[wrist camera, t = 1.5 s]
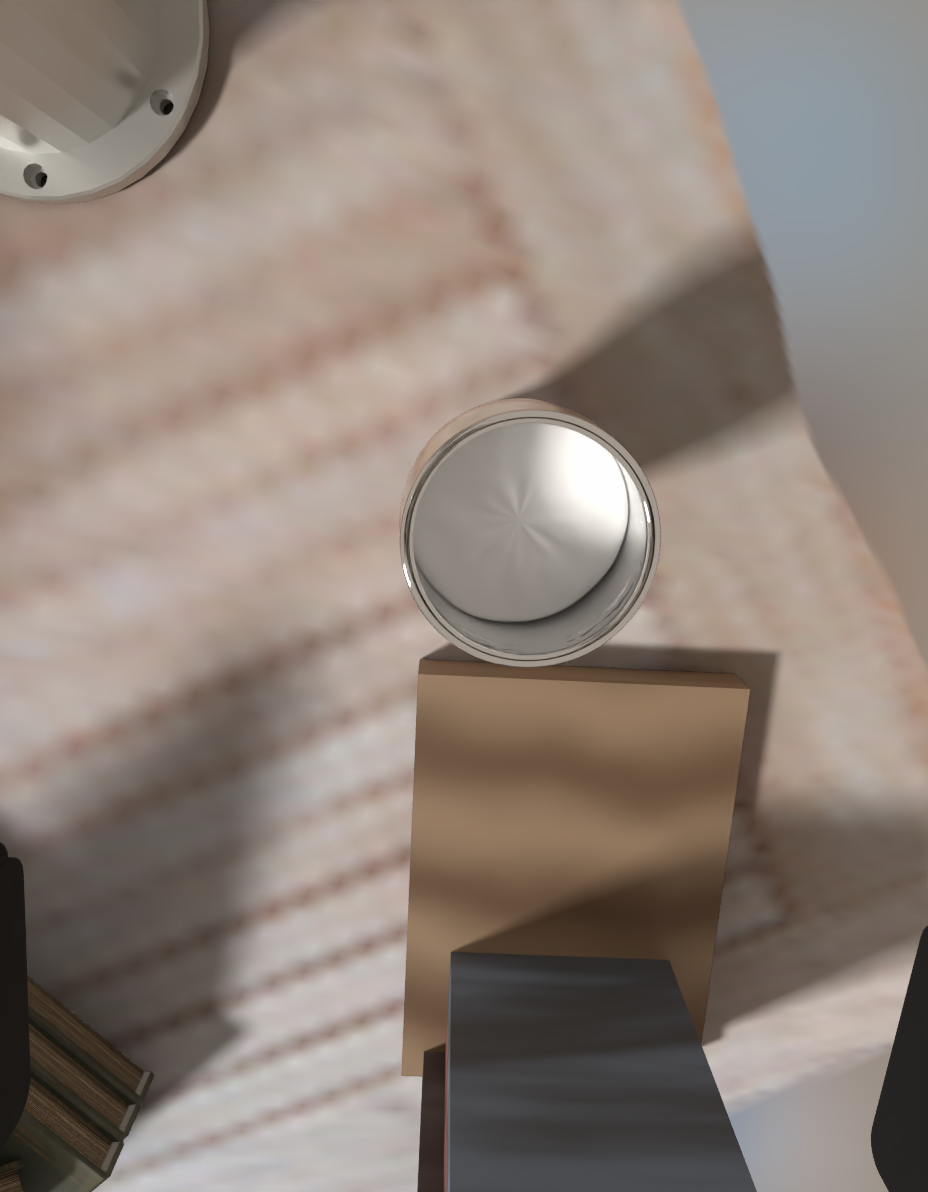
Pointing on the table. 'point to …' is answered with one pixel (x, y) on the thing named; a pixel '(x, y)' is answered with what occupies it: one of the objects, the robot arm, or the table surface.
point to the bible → (70, 1104)
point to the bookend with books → (569, 927)
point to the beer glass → (527, 533)
